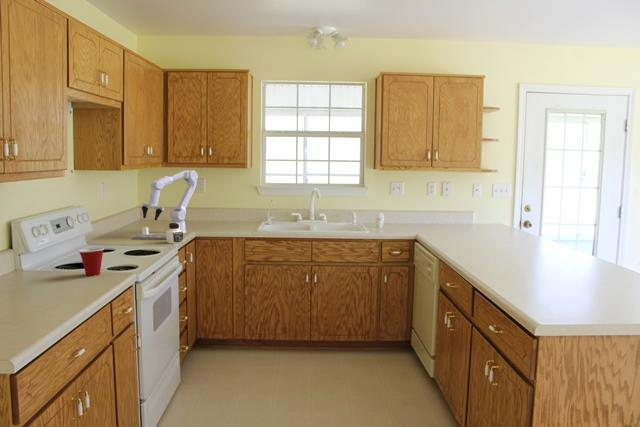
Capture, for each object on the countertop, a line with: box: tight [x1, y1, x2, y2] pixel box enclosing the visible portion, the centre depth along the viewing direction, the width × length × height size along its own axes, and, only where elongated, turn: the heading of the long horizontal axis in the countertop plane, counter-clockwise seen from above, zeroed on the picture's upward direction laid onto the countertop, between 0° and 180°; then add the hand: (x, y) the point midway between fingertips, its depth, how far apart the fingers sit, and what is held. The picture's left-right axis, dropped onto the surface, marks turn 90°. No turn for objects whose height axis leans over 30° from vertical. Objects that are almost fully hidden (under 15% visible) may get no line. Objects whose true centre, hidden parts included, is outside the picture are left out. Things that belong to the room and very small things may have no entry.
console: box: [132, 232, 167, 241], centre depth 328 cm, size 14×22×2 cm, turn 84°
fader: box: [141, 226, 150, 234], centre depth 329 cm, size 3×3×5 cm
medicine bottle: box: [165, 222, 184, 244], centre depth 312 cm, size 7×7×12 cm
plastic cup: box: [77, 247, 105, 277], centre depth 231 cm, size 11×11×12 cm
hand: (149, 219), depth 329 cm, fingers open, 7 cm apart
